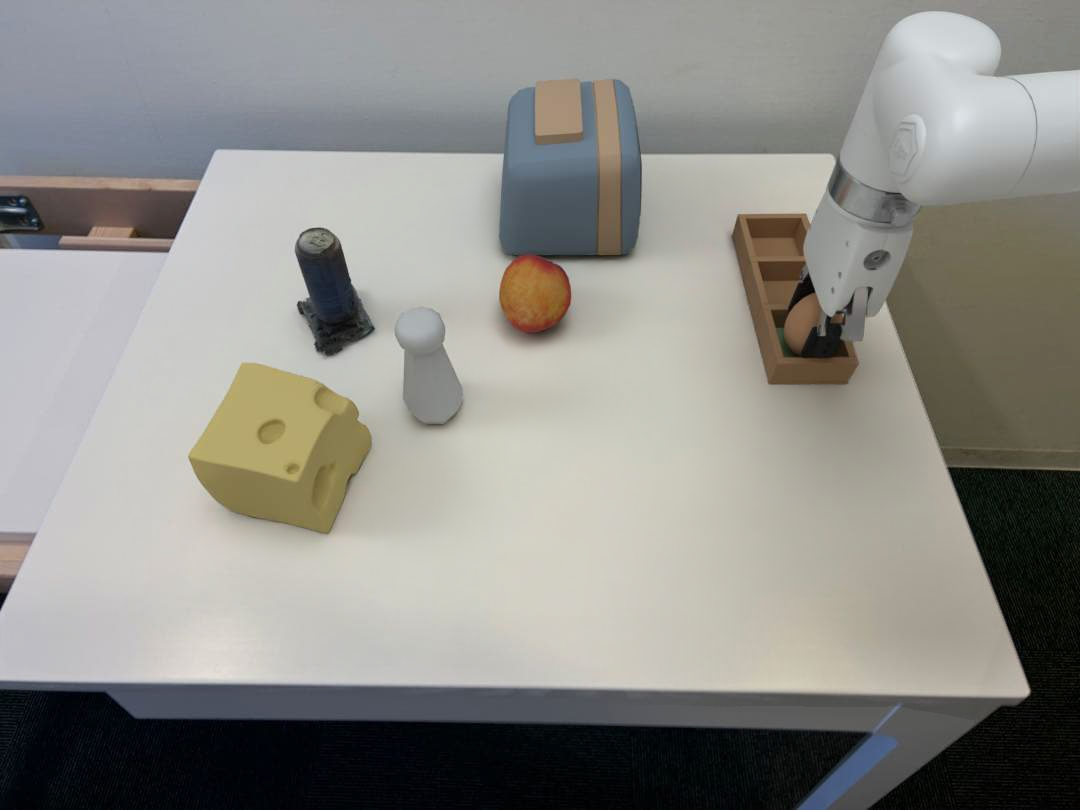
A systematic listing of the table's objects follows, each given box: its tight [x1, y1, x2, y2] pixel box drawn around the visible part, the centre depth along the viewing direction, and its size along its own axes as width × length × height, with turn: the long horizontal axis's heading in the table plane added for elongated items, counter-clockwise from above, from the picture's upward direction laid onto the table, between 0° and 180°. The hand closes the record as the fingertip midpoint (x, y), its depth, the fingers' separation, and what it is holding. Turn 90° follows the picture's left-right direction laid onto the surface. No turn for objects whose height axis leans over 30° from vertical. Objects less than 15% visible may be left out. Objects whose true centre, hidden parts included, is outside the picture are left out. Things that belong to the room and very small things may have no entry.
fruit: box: [498, 254, 572, 333], centre depth 74 cm, size 8×8×8 cm
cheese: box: [187, 362, 373, 534], centre depth 61 cm, size 10×11×10 cm
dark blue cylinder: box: [294, 227, 376, 356], centre depth 72 cm, size 9×8×12 cm
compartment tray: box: [731, 212, 860, 385], centre depth 77 cm, size 23×8×3 cm, turn 0°
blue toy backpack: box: [498, 77, 643, 256], centre depth 80 cm, size 16×16×16 cm
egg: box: [784, 293, 842, 356], centre depth 70 cm, size 5×5×8 cm
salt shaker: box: [394, 306, 464, 425], centre depth 65 cm, size 6×6×13 cm
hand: (810, 332), depth 71 cm, fingers closed on egg, 5 cm apart
